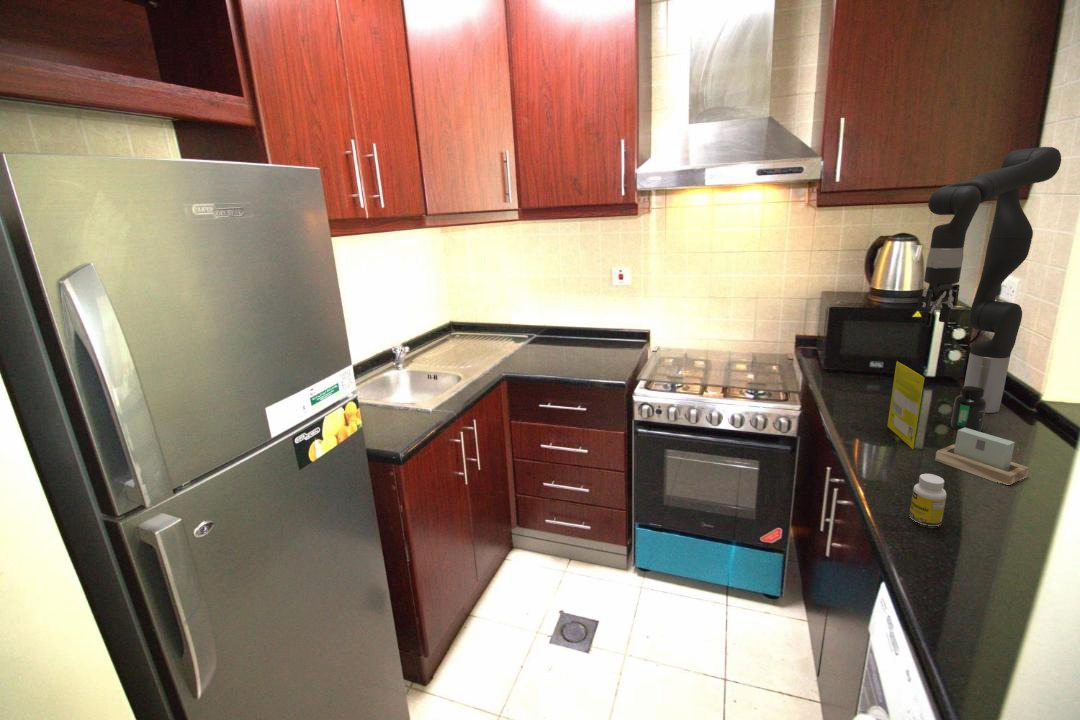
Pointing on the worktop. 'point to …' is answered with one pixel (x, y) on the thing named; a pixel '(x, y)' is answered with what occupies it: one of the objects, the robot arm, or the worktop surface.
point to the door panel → (984, 448)
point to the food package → (905, 403)
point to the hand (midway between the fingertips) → (934, 324)
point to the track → (981, 467)
